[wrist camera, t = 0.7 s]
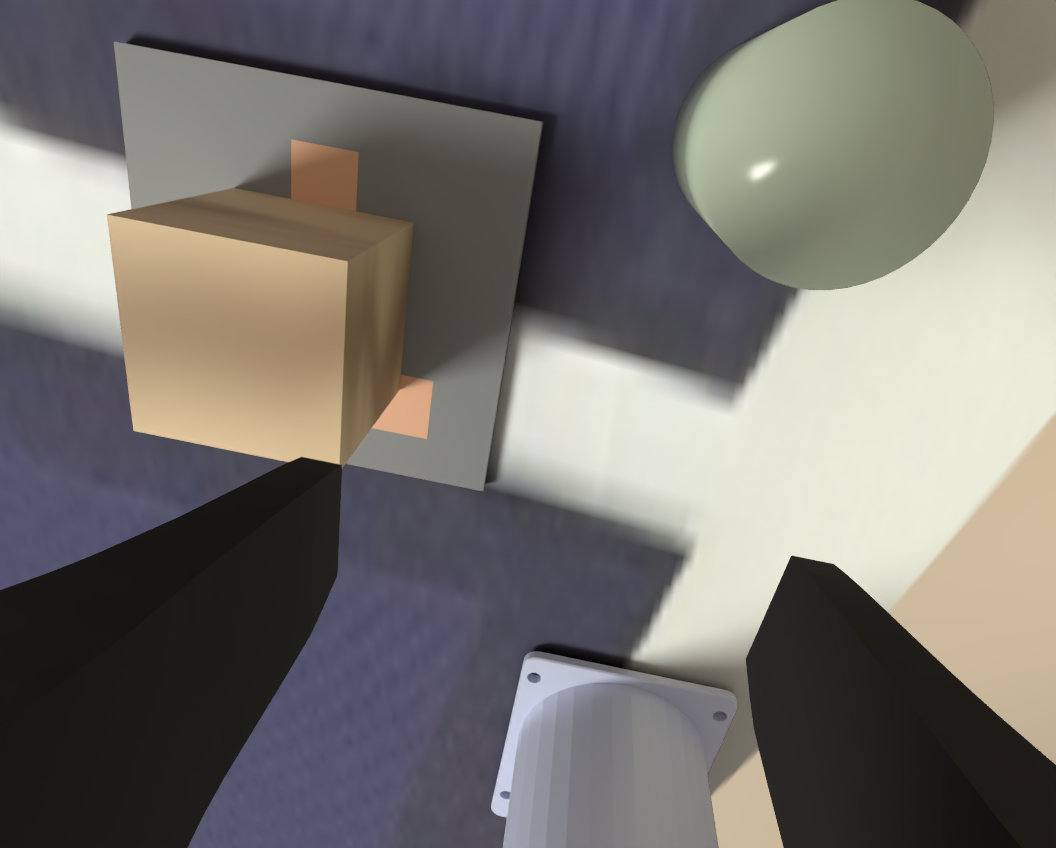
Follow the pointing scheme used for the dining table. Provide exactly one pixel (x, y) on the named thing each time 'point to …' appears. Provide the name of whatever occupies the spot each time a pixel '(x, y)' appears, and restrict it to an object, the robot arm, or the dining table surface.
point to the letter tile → (374, 188)
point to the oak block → (261, 321)
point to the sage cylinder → (837, 141)
